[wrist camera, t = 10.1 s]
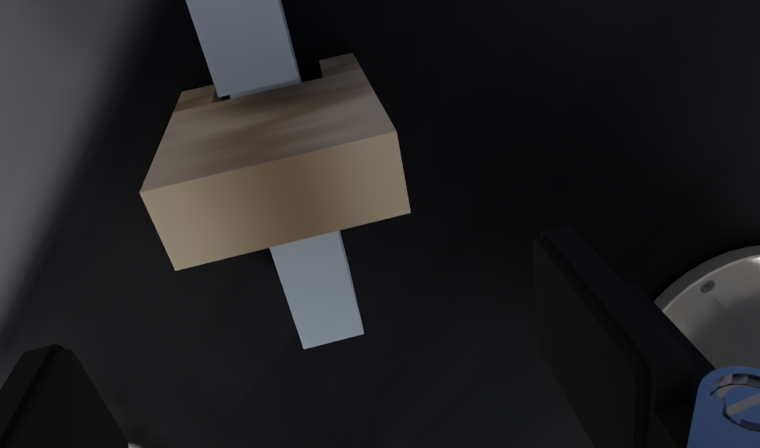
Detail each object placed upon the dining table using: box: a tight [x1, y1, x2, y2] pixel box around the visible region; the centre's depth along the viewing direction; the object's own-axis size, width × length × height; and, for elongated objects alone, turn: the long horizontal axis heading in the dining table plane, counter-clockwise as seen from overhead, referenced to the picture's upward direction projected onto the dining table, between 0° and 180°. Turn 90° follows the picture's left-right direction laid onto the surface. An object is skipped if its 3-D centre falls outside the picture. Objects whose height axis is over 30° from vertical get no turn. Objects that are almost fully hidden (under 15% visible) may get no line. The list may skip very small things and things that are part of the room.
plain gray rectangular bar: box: [186, 0, 364, 349], centre depth 21 cm, size 18×3×5 cm, turn 10°
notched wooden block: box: [140, 53, 411, 271], centre depth 20 cm, size 7×3×9 cm, turn 100°
